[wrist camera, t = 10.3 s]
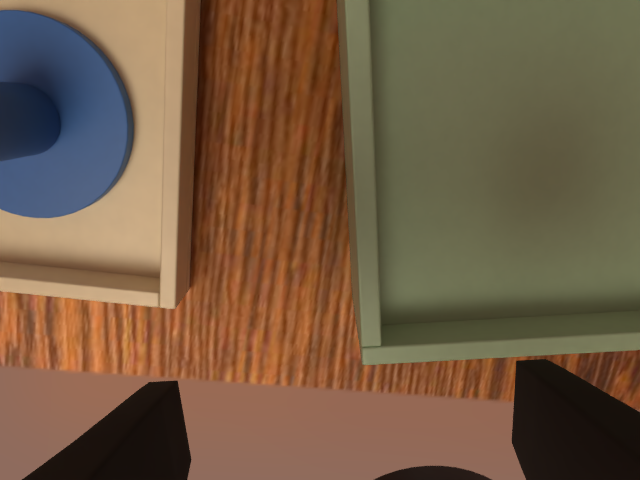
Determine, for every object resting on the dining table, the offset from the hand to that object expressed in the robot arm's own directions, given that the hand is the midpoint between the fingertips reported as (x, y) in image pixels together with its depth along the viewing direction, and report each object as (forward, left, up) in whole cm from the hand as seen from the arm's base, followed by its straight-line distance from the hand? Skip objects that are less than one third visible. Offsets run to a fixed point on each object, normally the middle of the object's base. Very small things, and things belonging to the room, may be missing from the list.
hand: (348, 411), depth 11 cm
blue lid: (+6, +10, -9) cm, 15 cm away
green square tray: (+4, -6, -9) cm, 12 cm away
